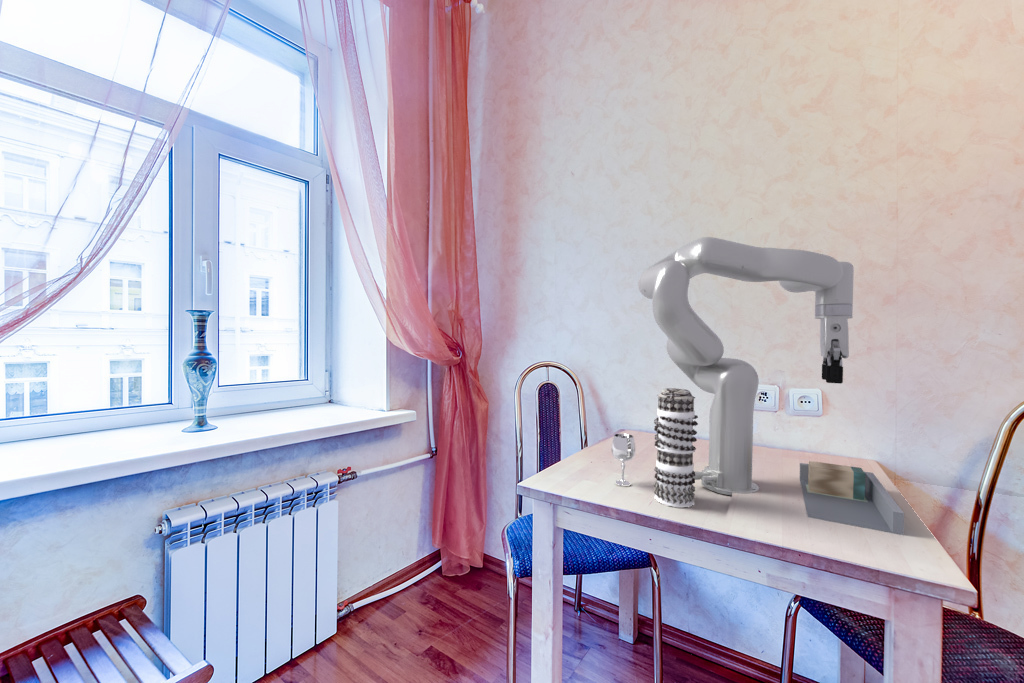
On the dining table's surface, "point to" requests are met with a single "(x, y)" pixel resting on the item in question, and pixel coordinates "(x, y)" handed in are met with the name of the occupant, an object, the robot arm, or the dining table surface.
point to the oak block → (836, 480)
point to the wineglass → (623, 451)
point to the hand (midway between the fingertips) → (831, 381)
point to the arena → (855, 506)
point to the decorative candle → (675, 448)
